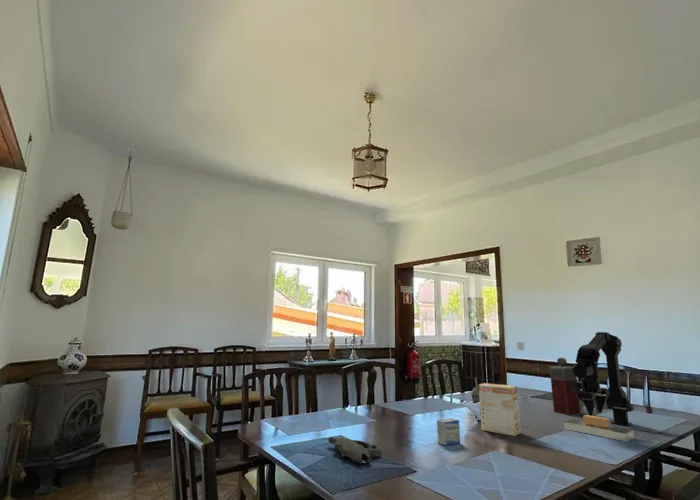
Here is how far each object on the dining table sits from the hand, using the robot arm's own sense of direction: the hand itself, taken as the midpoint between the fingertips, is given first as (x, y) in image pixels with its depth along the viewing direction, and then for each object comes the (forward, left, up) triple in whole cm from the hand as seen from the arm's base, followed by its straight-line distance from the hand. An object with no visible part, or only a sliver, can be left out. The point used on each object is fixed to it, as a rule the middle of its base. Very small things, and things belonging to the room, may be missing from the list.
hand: (595, 414), depth 168 cm
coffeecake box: (+30, -27, -8) cm, 41 cm away
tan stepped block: (0, 0, -8) cm, 8 cm away
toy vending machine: (-31, -26, -8) cm, 41 cm away
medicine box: (+61, -30, -8) cm, 68 cm away
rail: (0, 0, -8) cm, 8 cm away
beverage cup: (+19, -45, -8) cm, 49 cm away
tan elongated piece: (+98, -43, -8) cm, 107 cm away
